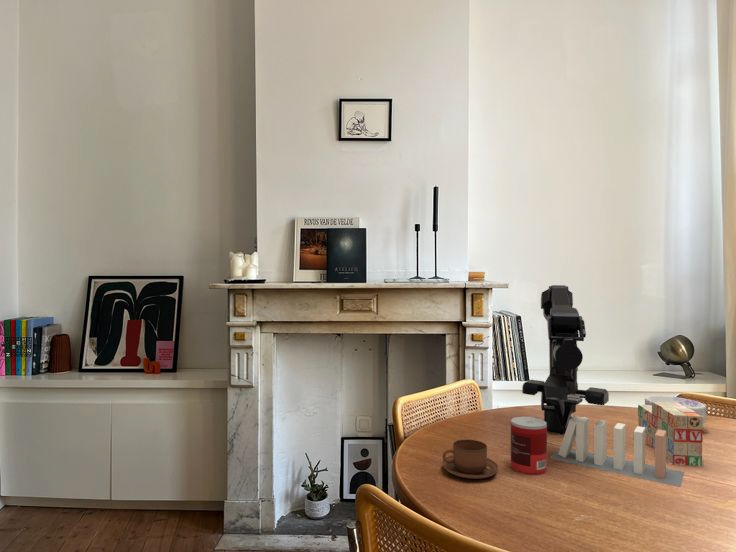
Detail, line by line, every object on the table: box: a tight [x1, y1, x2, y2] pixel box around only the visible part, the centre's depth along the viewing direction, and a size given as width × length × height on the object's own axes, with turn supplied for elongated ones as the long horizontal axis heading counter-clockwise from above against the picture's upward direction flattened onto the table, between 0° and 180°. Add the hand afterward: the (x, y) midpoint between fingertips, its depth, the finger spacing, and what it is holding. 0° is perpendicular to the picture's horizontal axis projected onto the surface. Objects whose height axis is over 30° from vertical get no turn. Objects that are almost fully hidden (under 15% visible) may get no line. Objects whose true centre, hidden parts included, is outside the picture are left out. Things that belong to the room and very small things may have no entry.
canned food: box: [510, 416, 548, 476], centre depth 108 cm, size 8×8×11 cm
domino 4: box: [613, 422, 627, 470], centre depth 110 cm, size 2×5×9 cm, turn 143°
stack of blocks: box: [637, 402, 704, 467], centre depth 121 cm, size 21×6×12 cm, turn 170°
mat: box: [549, 448, 685, 488], centre depth 110 cm, size 26×10×1 cm, turn 53°
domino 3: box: [593, 419, 608, 466], centre depth 112 cm, size 2×5×9 cm, turn 143°
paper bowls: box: [644, 395, 707, 425], centre depth 142 cm, size 15×15×8 cm
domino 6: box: [654, 430, 667, 479], centre depth 105 cm, size 2×5×9 cm, turn 143°
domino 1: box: [558, 415, 581, 458], centre depth 116 cm, size 2×5×9 cm, turn 143°
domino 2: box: [575, 416, 590, 462], centre depth 115 cm, size 2×5×9 cm, turn 143°
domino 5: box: [633, 425, 646, 474], centre depth 107 cm, size 2×5×9 cm, turn 143°
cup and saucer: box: [441, 439, 499, 480], centre depth 107 cm, size 12×12×6 cm
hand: (564, 427), depth 117 cm, fingers closed
